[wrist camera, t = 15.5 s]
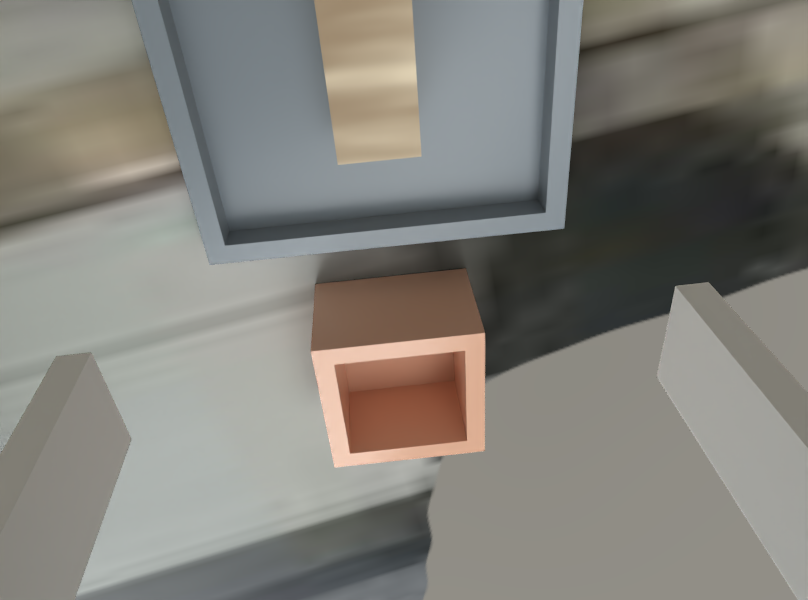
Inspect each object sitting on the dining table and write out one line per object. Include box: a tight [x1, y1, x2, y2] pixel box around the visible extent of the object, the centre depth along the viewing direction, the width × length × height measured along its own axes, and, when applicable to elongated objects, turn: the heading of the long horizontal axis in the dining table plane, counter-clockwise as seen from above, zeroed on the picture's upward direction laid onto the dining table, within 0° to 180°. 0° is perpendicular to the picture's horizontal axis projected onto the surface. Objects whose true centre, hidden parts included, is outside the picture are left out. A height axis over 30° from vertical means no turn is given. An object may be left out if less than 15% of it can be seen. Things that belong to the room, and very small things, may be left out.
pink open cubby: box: [311, 268, 485, 467], centre depth 36 cm, size 9×9×6 cm
